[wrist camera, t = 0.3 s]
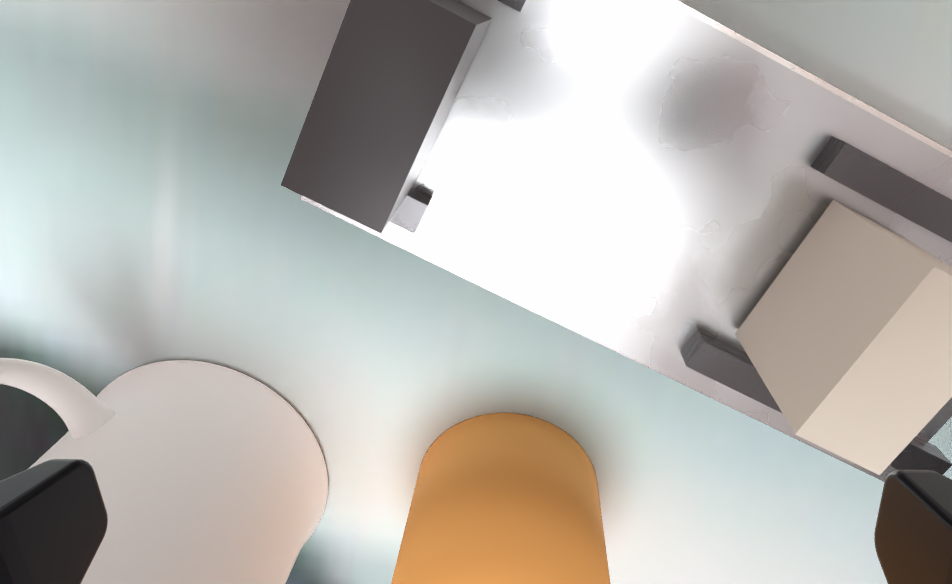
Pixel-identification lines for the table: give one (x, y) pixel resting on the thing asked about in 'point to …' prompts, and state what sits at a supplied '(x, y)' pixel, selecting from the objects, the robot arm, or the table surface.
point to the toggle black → (383, 104)
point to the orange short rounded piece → (504, 508)
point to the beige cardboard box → (855, 338)
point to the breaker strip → (658, 185)
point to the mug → (188, 471)
